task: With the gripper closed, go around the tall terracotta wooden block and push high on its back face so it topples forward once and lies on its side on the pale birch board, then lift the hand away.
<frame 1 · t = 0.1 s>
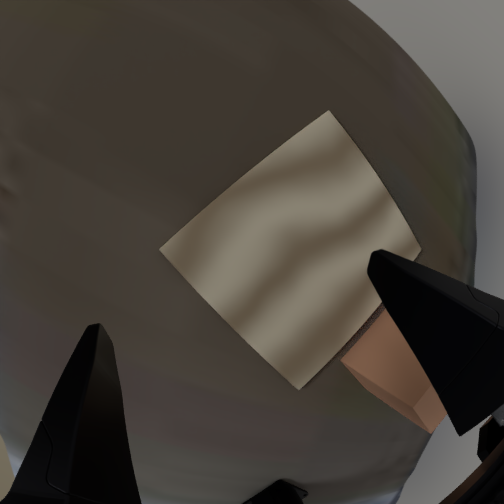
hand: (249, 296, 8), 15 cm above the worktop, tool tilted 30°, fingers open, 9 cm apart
birch board: (316, 249, 25), on the worktop
terracotta block: (378, 348, 28), on the worktop
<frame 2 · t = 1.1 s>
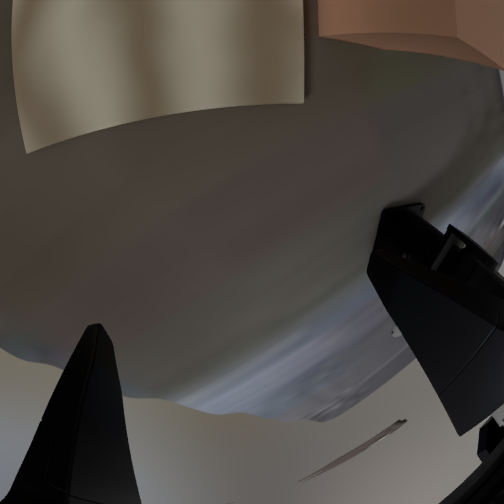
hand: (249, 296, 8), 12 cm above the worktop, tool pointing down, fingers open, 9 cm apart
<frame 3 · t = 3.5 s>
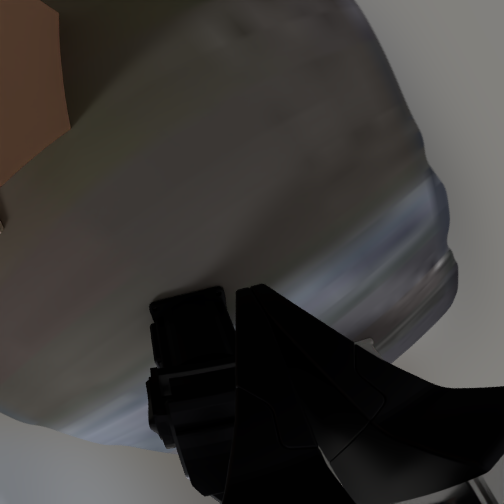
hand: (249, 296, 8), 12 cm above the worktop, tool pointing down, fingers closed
terracotta block: (20, 86, 10), on the worktop
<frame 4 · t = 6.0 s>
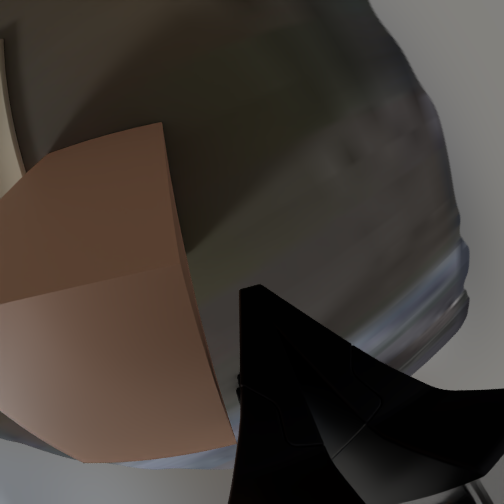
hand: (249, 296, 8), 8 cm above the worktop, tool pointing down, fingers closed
terracotta block: (119, 209, 14), on the worktop, touching gripper
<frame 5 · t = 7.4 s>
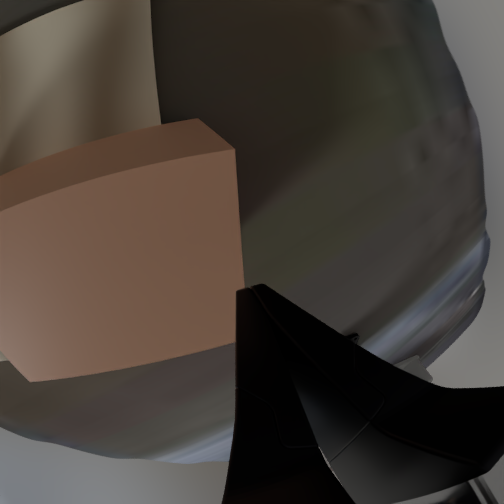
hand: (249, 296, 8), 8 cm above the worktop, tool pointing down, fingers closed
birch board: (18, 223, 12), on the worktop
phone holder: (380, 379, 46), on the worktop
terracotta block: (220, 223, 12), point 4 cm above the worktop, tilted 90°, touching birch board
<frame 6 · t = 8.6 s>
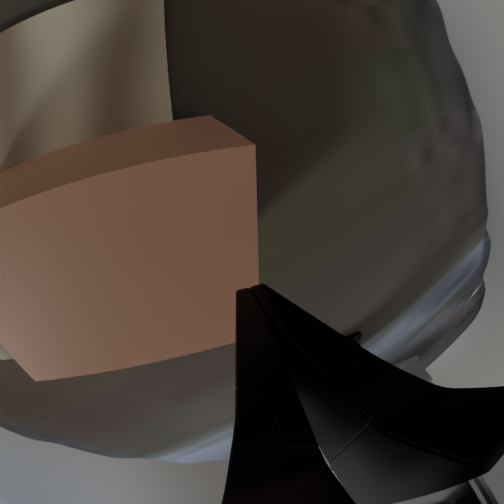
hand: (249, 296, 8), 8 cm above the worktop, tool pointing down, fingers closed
birch board: (23, 219, 12), on the worktop
phone holder: (380, 379, 46), on the worktop
terracotta block: (233, 220, 12), point 4 cm above the worktop, tilted 90°, touching birch board
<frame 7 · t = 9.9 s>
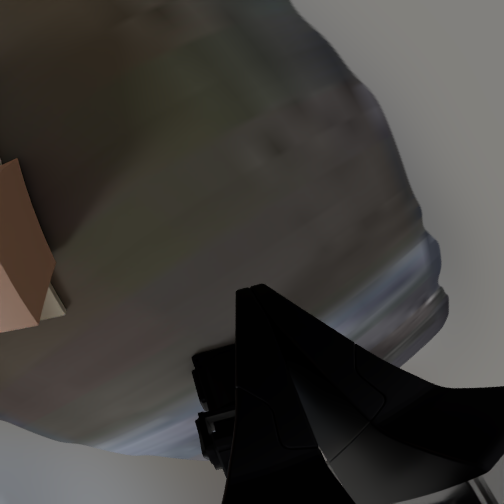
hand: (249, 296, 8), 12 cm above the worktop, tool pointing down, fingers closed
terracotta block: (21, 237, 12), point 4 cm above the worktop, tilted 90°, touching birch board
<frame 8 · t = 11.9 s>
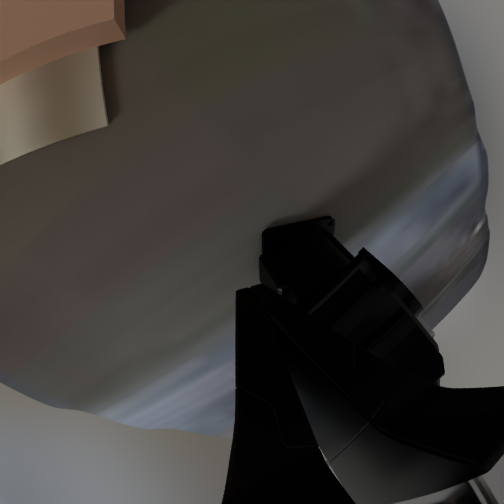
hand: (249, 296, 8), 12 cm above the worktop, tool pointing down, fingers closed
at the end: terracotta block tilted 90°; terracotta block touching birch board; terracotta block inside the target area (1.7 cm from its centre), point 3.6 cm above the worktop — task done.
